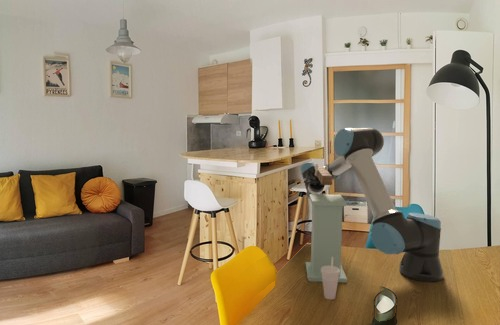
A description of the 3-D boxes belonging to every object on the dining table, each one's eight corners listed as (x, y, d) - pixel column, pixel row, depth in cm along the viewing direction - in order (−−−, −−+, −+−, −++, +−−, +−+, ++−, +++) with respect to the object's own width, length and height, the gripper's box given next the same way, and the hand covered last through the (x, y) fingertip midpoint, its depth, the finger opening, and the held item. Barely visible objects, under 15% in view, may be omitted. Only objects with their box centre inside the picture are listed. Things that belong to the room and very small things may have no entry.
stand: (305, 265, 140) (306, 193, 137) (340, 266, 139) (342, 194, 136) (308, 281, 127) (309, 201, 123) (346, 282, 125) (349, 202, 122)
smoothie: (339, 302, 112) (341, 261, 110) (319, 300, 113) (320, 259, 111) (338, 292, 118) (340, 253, 116) (319, 291, 119) (320, 252, 117)
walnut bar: (315, 174, 155) (315, 166, 154) (323, 174, 154) (323, 166, 154) (322, 184, 129) (322, 175, 128) (331, 185, 129) (332, 175, 128)
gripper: (334, 192, 165) (342, 175, 143) (299, 192, 166) (302, 175, 145) (333, 178, 167) (341, 159, 146) (299, 177, 169) (302, 158, 147)
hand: (321, 167), depth 145 cm, fingers closed on walnut bar, 3 cm apart
